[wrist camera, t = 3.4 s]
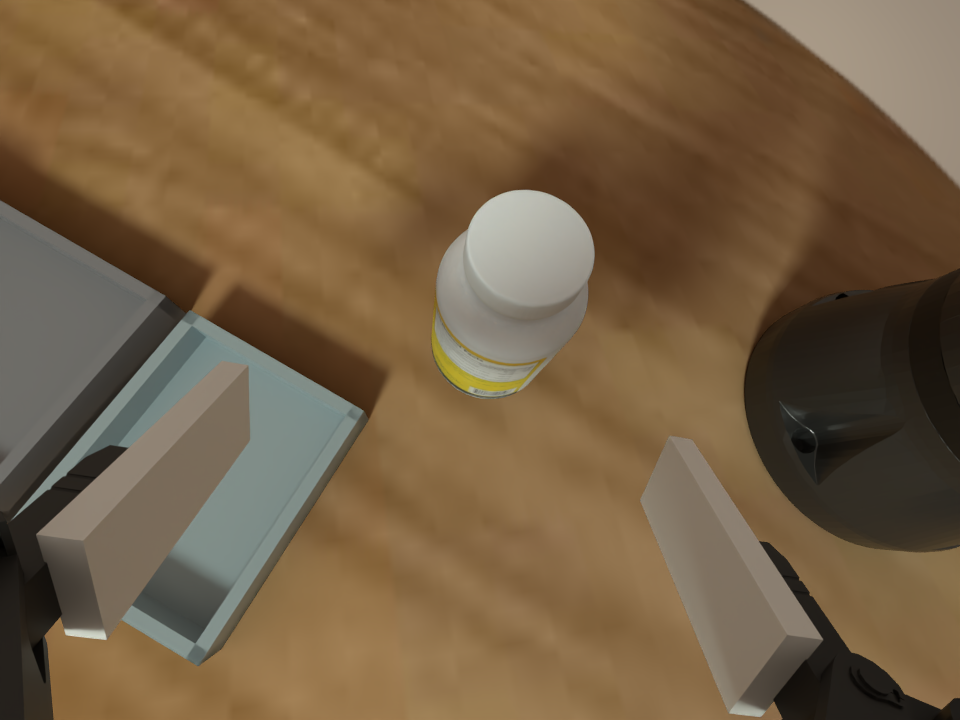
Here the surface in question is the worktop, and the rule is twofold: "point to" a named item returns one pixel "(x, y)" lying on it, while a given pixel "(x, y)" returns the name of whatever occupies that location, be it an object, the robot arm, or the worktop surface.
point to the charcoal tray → (63, 347)
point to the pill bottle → (510, 293)
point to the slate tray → (225, 482)
